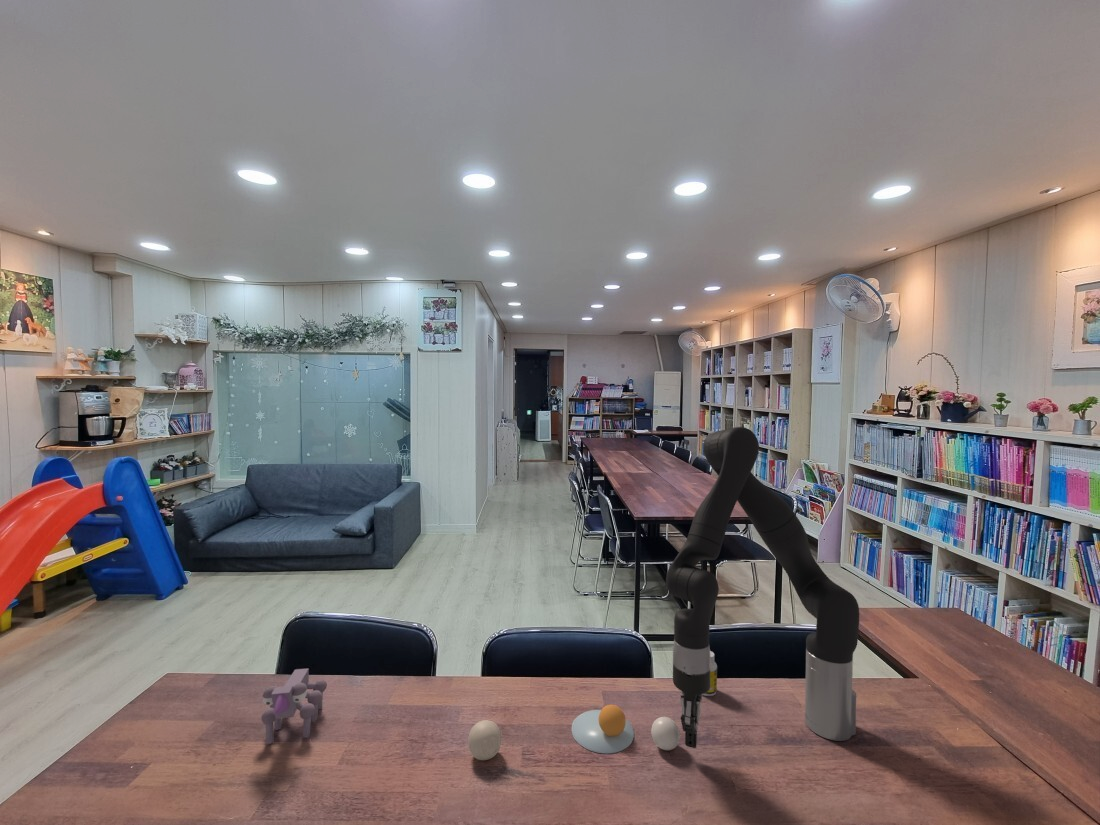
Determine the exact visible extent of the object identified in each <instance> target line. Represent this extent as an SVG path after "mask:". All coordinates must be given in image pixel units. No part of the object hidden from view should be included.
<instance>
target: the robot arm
mask: <svg viewBox="0 0 1100 825" xmlns="http://www.w3.org/2000/svg"><path fill="white" fill-rule="evenodd" d="M702 449H703V454H704V456H705V459H706V461H707V463H708V464H709V466H710V467H711V468H712V470H713V471H714V472H715V474H716V475H717V476H718V477H717V478H716V481H715V482H714V484H713V486H712V487H711V489H710V490H709V492H708V493H707V495H706V496H705V497H704V499H703V500H702V502H701V503H700V504H699V506H698V508H697V510H696V512H695V514H694V516H693V518H692V522H691V525H690V528H689V532H688V533H687V534H688V535H687V538H686V540H685V543H684V544H683V546H682V547H681V549H680V550H679V552H678V553H677V555H676V556H675V558H674V559H673V561H672V563H671V564H670V565H669V567H668V570H667V572H666V575H665V576H666V577H665V583H666V585H665V586H666V588H667V591H668V593H669V594H671V595H672V596H673V597H676V598H678V599H682V600H683V601H687V602H689V603H692V605H693V608H681V609H678V610H677V611H676V612H675V615H674V621H673V623H674V625H673V647H672V682H673V685H674V686H675V687H676V689H678V690H679V691H680V692H682V693H681V694H680V700H679V702H680V703H679V704H680V706H681V715H680V722H681V727H682V731H683V732H685V738H684V741H685V746H686V747H687V748H692V749H696V748H697V745H698V728H699V727H698V726H699V723H700V722H699V721H700V716H701V706H702V700H703V695H702V694H704V693H706V692H708V691H709V689H710V661H711V657H710V651H711V649H710V624H711V620H712V616H713V612H714V610H715V609H714V608H715V606H716V602H717V600H718V596H719V592H720V589H719V587H720V586H719V582H718V580H717V577H716V576H715V574H713V573H712V572H711V571H709V570H706V569H702V568H700V567H696V566H697V565H698V564H699V563H700V562H701V561H705V560H706V561H715V560H717V558H718V557H719V556H720V553H721V549H722V545H723V541H724V539H725V535H726V531H727V527H728V525H729V521H730V519H731V516H732V514H733V511H734V508H735V506H736V504H737V503H738V504H739V505H740V507H741V509H742V510H743V512H744V513H745V514H746V515H747V517H748V519H749V520H750V523H751V524H752V525H753V527H754V529H755V530H756V532H757V533H758V535H759V537H760V538H761V539H762V541H763V543H764V544H765V546H766V547H767V548H768V549H769V551H770V552H771V554H772V556H774V559H776V561H777V562H778V564H780V566H781V567H782V568H783V570H784V571H785V574H786V575H787V577H788V579H789V580H790V582H791V584H792V586H793V588H794V590H795V592H796V593H797V597H798V598H799V600H800V602H801V604H802V606H803V607H804V608H805V610H806V611H807V612H808V613H809V614H810V615H811V616H813V617H814V618H815V619H816V628H815V629H816V630H815V632H811V633H808V635H807V636H806V639H805V688H804V690H805V698H804V703H805V704H804V722H805V725H806V726H807V728H808V729H809V730H810V731H811V732H813V733H814V734H816V735H818V736H820V737H822V738H824V739H827V740H831V741H836V742H837V741H838V742H843V741H844V742H845V741H848V740H850V739H851V737H852V736H855V735H856V734H857V733H856V731H857V692H856V691H855V690H854V689H853V676H854V675H853V674H854V673H853V664H854V661H853V660H854V652H855V651H856V649H857V645H858V641H859V640H858V638H859V627H860V607H859V603H858V601H857V600H858V599H856V597H855V596H854V595H853V593H851V592H850V591H849V590H847V589H846V588H844V587H842V586H841V585H839V584H837V583H835V582H834V581H833V580H831V579H830V577H829V576H828V575H827V574H826V573H825V572H824V570H823V569H822V568H821V566H819V564H818V563H817V561H816V559H815V558H814V556H813V554H812V551H811V548H810V543H809V538H808V535H807V533H806V532H807V531H806V530H805V527H804V525H803V524H802V523H801V521H800V519H799V517H798V516H797V515H796V513H795V512H794V509H792V507H791V506H790V505H789V504H788V502H787V501H785V500H784V498H782V497H781V496H780V495H778V494H777V493H776V492H775V491H773V490H772V489H771V488H769V487H768V486H767V485H765V484H764V483H763V482H761V480H759V479H758V478H757V477H756V476H755V475H754V473H753V472H752V470H753V468H754V466H755V463H756V461H757V459H758V455H759V451H760V444H759V439H758V437H757V436H756V434H755V433H754V432H753V431H752V430H751V429H749V428H747V427H742V426H735V427H731V428H727V429H726V428H725V429H722V430H718V431H715V432H712V433H710V434H708V435H707V436H706V437H705V438H704V441H703V447H702Z"/></svg>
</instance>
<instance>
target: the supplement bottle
mask: <svg viewBox="0 0 1100 825" xmlns="http://www.w3.org/2000/svg"><path fill="white" fill-rule="evenodd" d="M710 657H711V661H710V689H709V691H708V692H706V693H704V694H702V696H705V697H712V696H714V695H715V696H716V694H717V690H718V689H717V688H718V686H717V684H718V679H717V678H718V665H717V663H716V661H715V653H714V652H713V651H711V650H710Z"/></svg>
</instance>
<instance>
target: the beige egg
mask: <svg viewBox="0 0 1100 825" xmlns="http://www.w3.org/2000/svg"><path fill="white" fill-rule="evenodd" d="M467 739H468V740H467V741H468V749H469V751H470V753H471V755H472V757H473V758H475V759H476V760H478V761H488V760H490V759H492V758H494V757H495V756H496V755H497V754H498V752H499V751H500V748H501V745H502V734H501V731H500V728H499V726H498V725H497V724H496V723H495V722H494V721H493V720H492V721H491V720H487V719H485V720H480V721H478V722H476V723H475V724H474V725H473V726H472V727H471V729H470V731H469V734H468V738H467Z"/></svg>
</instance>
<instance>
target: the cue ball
mask: <svg viewBox="0 0 1100 825" xmlns="http://www.w3.org/2000/svg"><path fill="white" fill-rule="evenodd" d="M650 731H651V733H650V734H651V738H652V740H653V742H654V744H655V745H656V746H657V747H658V748H659V749H661V750H664V751H672V750H674V749H675V748H676V747H677V746H678V745H679V742H680V739H681V734H680V728H679V727H678V725H677V723H676V722H675V721H674V720H673V719H672V718H670V717H668V716H660V717H658V718H655V720H654V721H653V723H652V725H651V730H650Z"/></svg>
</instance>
